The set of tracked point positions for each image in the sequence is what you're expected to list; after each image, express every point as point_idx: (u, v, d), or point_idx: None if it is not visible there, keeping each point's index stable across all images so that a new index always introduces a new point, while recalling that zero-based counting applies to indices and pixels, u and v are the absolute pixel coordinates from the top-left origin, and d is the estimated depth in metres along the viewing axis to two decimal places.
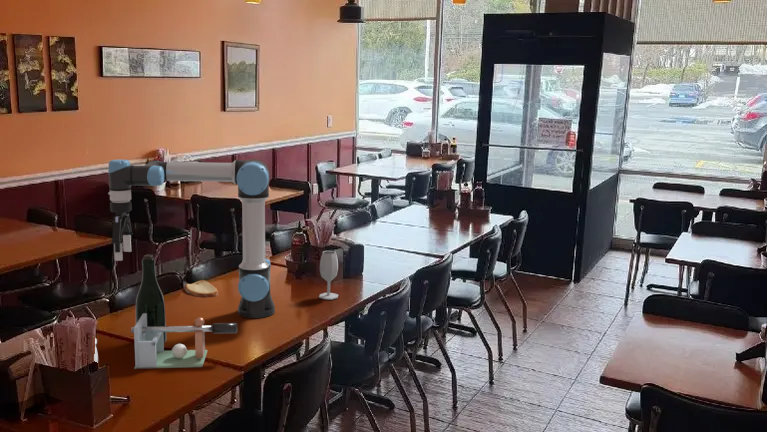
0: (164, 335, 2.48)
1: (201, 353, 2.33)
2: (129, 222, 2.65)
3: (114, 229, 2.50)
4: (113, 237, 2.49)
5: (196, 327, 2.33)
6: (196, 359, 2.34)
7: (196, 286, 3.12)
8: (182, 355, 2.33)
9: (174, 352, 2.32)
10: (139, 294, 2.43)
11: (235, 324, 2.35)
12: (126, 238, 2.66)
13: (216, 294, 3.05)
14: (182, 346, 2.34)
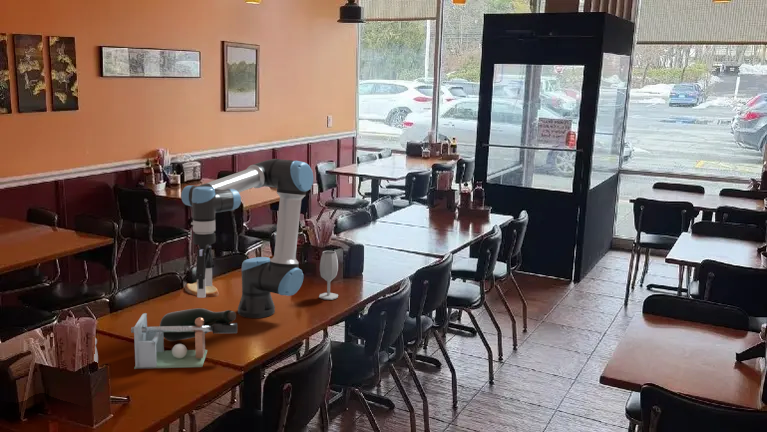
0: (171, 338, 2.47)
1: (201, 353, 2.33)
2: (211, 254, 2.43)
3: (198, 263, 2.28)
4: (197, 272, 2.27)
5: (196, 327, 2.33)
6: (196, 359, 2.34)
7: None
8: (182, 355, 2.33)
9: (174, 352, 2.32)
10: (201, 311, 2.41)
11: (235, 324, 2.35)
12: (207, 271, 2.43)
13: (216, 294, 3.05)
14: (182, 346, 2.34)
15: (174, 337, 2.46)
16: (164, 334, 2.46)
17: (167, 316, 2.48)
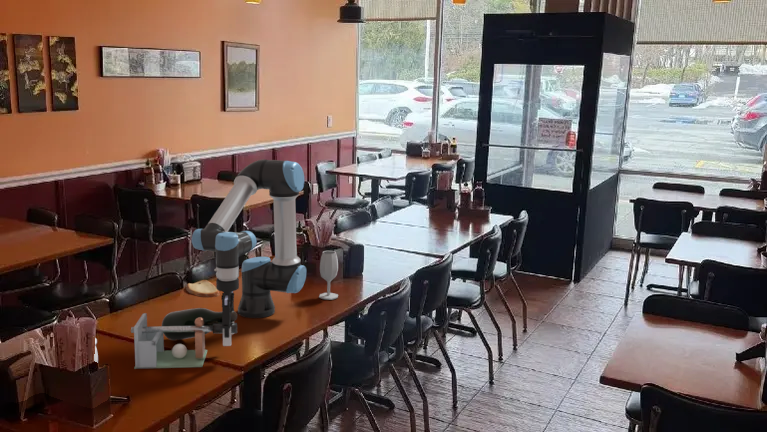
0: (171, 336, 2.47)
1: (201, 353, 2.33)
2: None
3: (223, 313, 2.27)
4: (223, 322, 2.27)
5: (196, 327, 2.33)
6: (196, 359, 2.34)
7: (198, 286, 3.13)
8: (182, 355, 2.33)
9: (174, 352, 2.32)
10: (203, 310, 2.42)
11: (235, 324, 2.35)
12: None
13: (217, 294, 3.05)
14: (182, 346, 2.34)
15: (174, 335, 2.46)
16: None
17: (170, 314, 2.49)
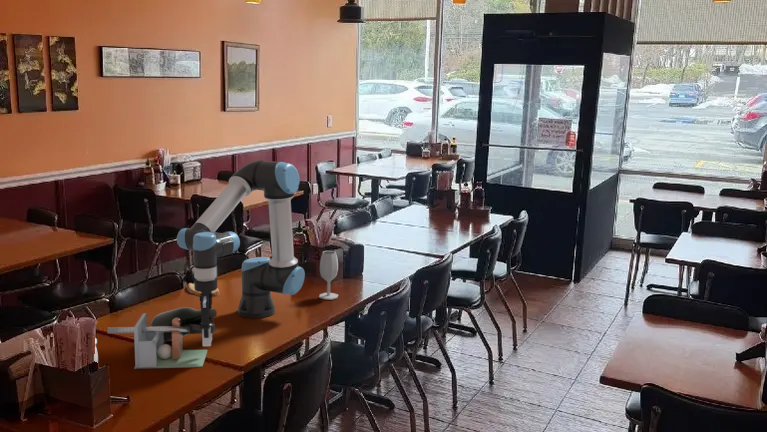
0: None
1: (178, 354, 2.32)
2: (211, 305, 2.38)
3: (202, 315, 2.27)
4: (202, 324, 2.28)
5: (173, 327, 2.32)
6: (196, 359, 2.34)
7: None
8: (166, 349, 2.32)
9: (162, 357, 2.32)
10: (184, 310, 2.38)
11: (212, 324, 2.34)
12: None
13: (217, 294, 3.05)
14: (158, 349, 2.33)
15: (164, 338, 2.45)
16: None
17: (156, 317, 2.47)
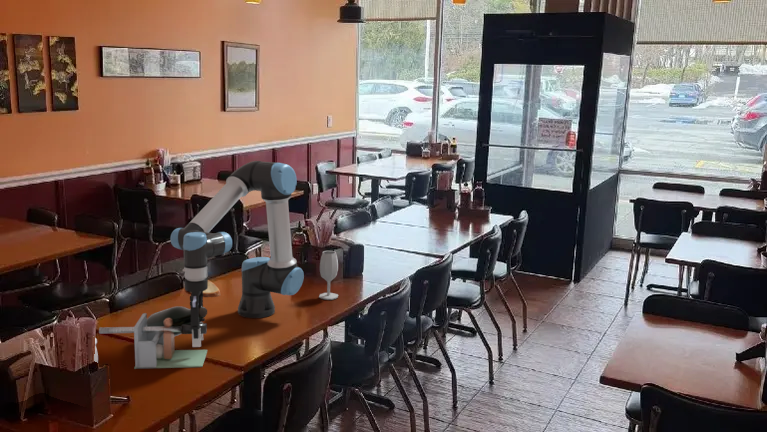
0: None
1: (170, 354, 2.31)
2: (202, 304, 2.38)
3: (192, 315, 2.26)
4: (192, 324, 2.27)
5: (165, 328, 2.32)
6: (196, 359, 2.34)
7: None
8: None
9: (159, 356, 2.32)
10: (176, 309, 2.38)
11: (204, 325, 2.33)
12: None
13: (218, 294, 3.05)
14: None
15: None
16: None
17: (150, 317, 2.47)
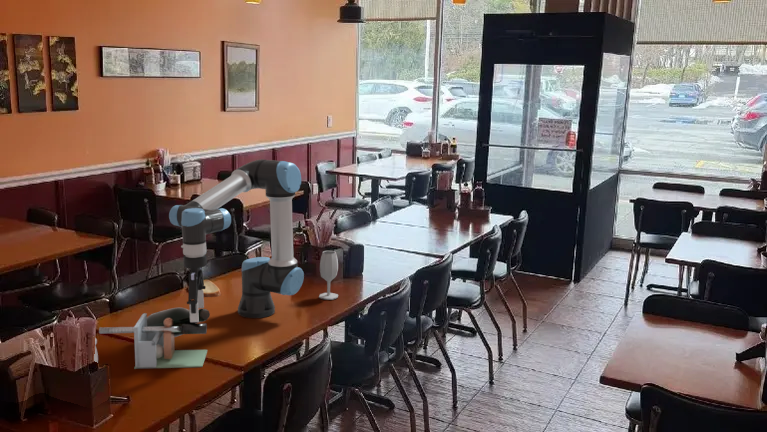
0: None
1: (170, 354, 2.31)
2: (202, 276, 2.38)
3: (190, 288, 2.23)
4: (189, 297, 2.22)
5: (165, 328, 2.32)
6: (196, 359, 2.34)
7: None
8: None
9: (158, 356, 2.32)
10: (177, 311, 2.38)
11: (204, 325, 2.33)
12: (198, 293, 2.38)
13: (218, 294, 3.05)
14: None
15: None
16: None
17: (149, 319, 2.47)
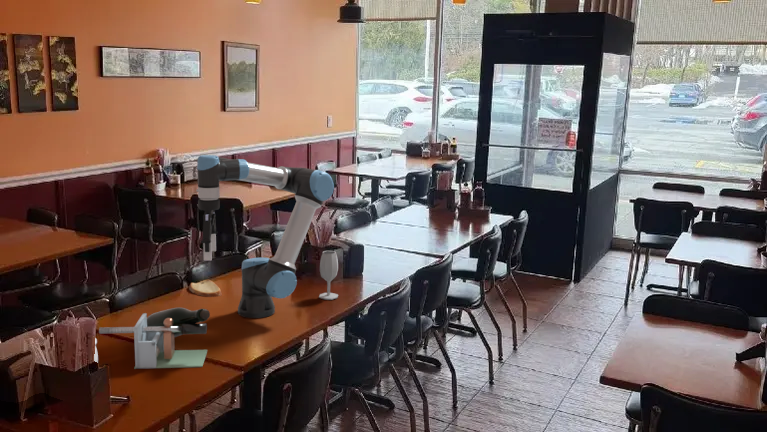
0: None
1: (170, 354, 2.31)
2: None
3: (204, 228, 2.39)
4: (203, 236, 2.39)
5: (165, 328, 2.32)
6: (196, 359, 2.34)
7: (200, 285, 3.14)
8: None
9: None
10: (177, 311, 2.38)
11: (204, 325, 2.33)
12: (211, 237, 2.55)
13: (219, 294, 3.05)
14: None
15: None
16: None
17: (149, 318, 2.47)
